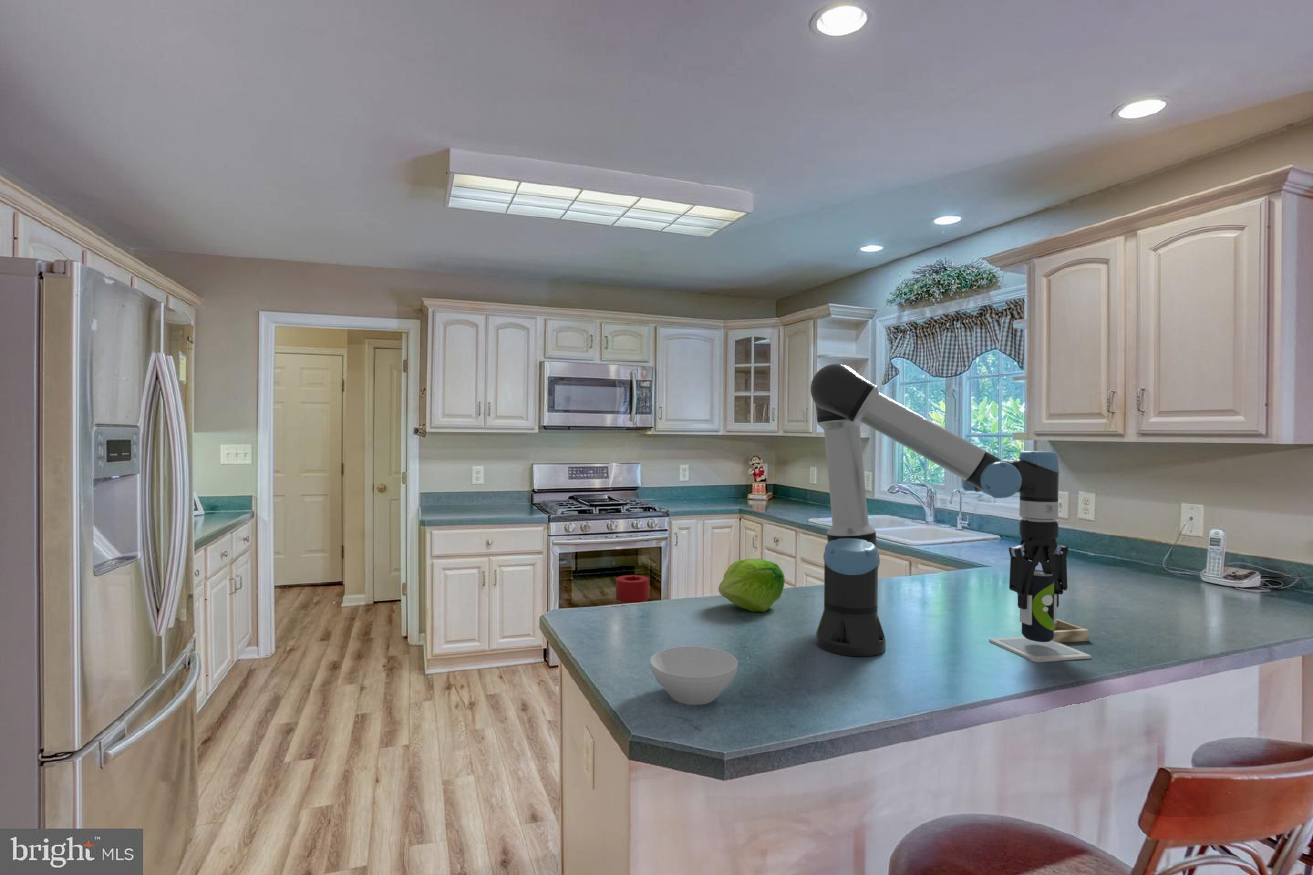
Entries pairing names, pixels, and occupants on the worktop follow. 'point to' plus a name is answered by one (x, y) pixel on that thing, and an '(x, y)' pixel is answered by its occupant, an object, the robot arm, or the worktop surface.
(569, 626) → the worktop surface
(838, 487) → the robot arm
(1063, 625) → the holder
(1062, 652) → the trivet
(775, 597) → the lettuce
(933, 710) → the worktop surface
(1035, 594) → the beverage can
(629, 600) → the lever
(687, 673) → the bowl
